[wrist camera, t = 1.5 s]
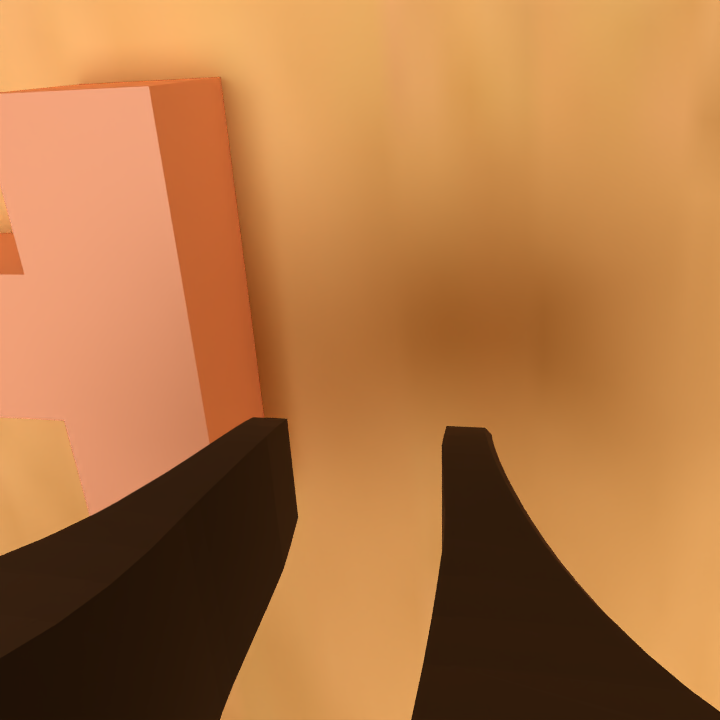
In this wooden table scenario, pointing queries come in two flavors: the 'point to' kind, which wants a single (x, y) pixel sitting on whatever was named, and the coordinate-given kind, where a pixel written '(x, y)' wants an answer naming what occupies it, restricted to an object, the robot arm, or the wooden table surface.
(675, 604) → the wooden table surface
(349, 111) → the wooden table surface
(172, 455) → the t block
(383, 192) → the wooden table surface
